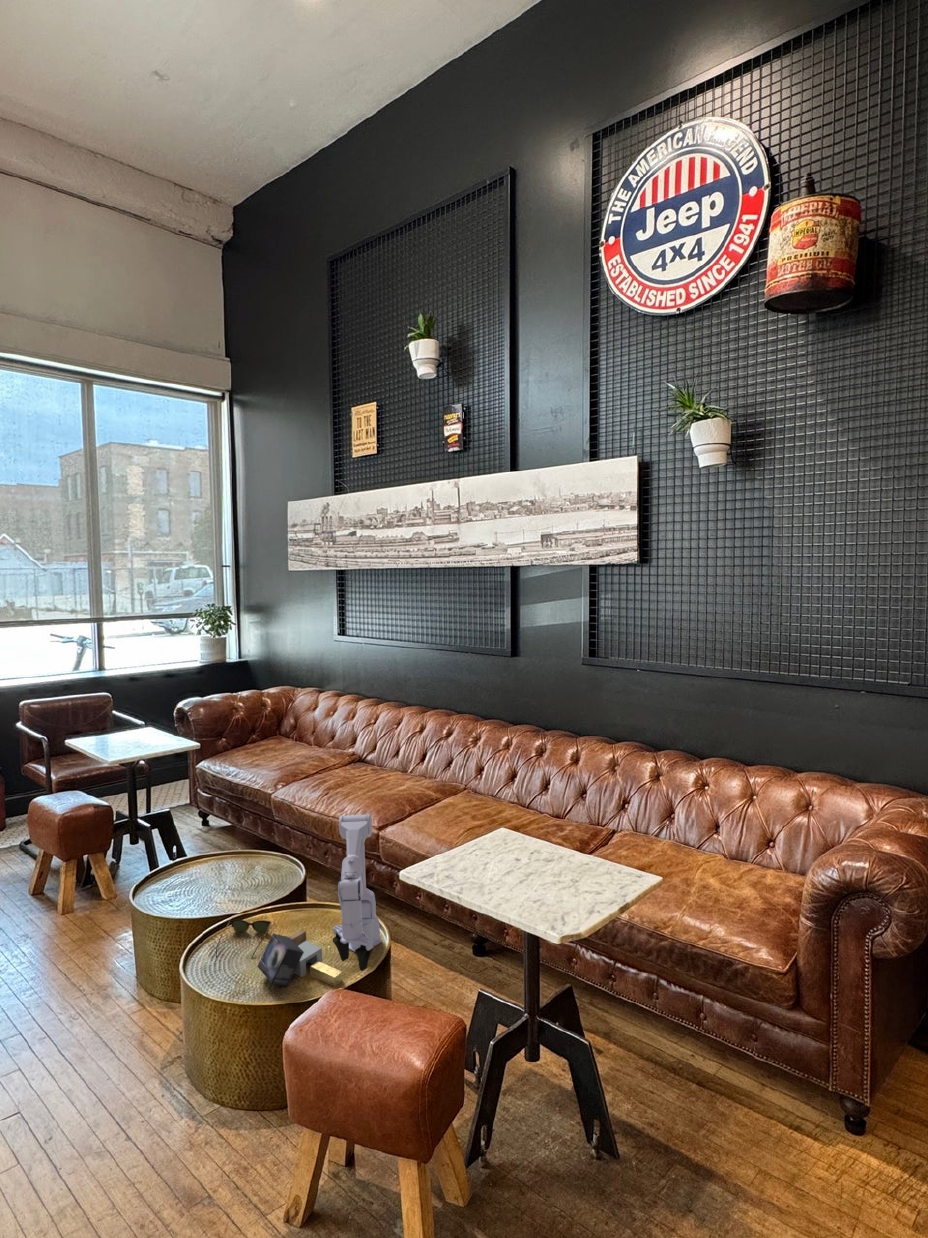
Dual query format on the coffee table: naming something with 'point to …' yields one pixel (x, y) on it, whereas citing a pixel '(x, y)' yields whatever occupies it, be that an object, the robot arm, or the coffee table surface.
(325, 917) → the coffee table surface
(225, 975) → the coffee table surface
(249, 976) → the coffee table surface
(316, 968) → the yellow rectangular bar
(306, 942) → the socket block
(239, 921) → the sunglasses
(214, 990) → the coffee table surface
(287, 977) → the small box
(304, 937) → the backstop wall
